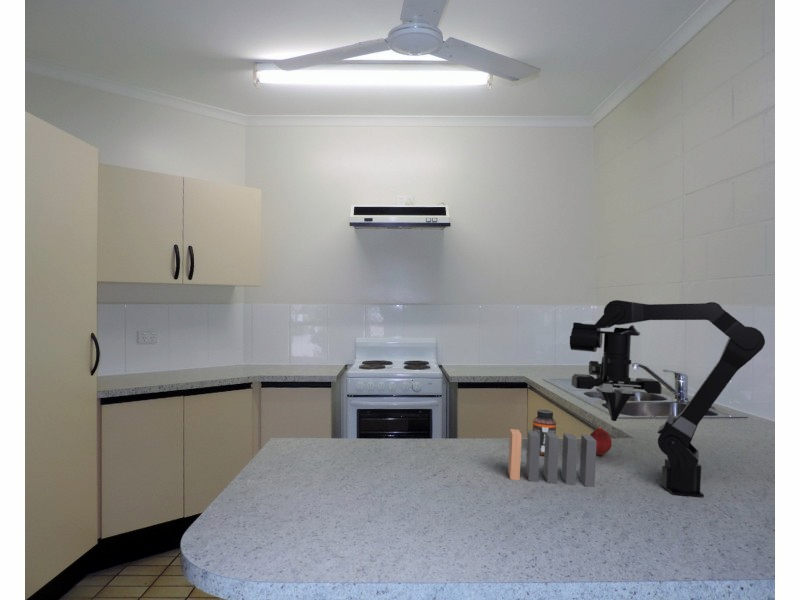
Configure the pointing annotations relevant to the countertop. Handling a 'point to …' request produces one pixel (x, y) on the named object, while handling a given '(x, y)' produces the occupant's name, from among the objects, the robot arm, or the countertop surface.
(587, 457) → the domino
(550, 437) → the domino
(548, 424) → the supplement bottle
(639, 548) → the countertop surface
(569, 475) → the domino
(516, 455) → the domino
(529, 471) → the domino
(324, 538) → the countertop surface
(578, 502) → the countertop surface
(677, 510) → the countertop surface
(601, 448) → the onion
